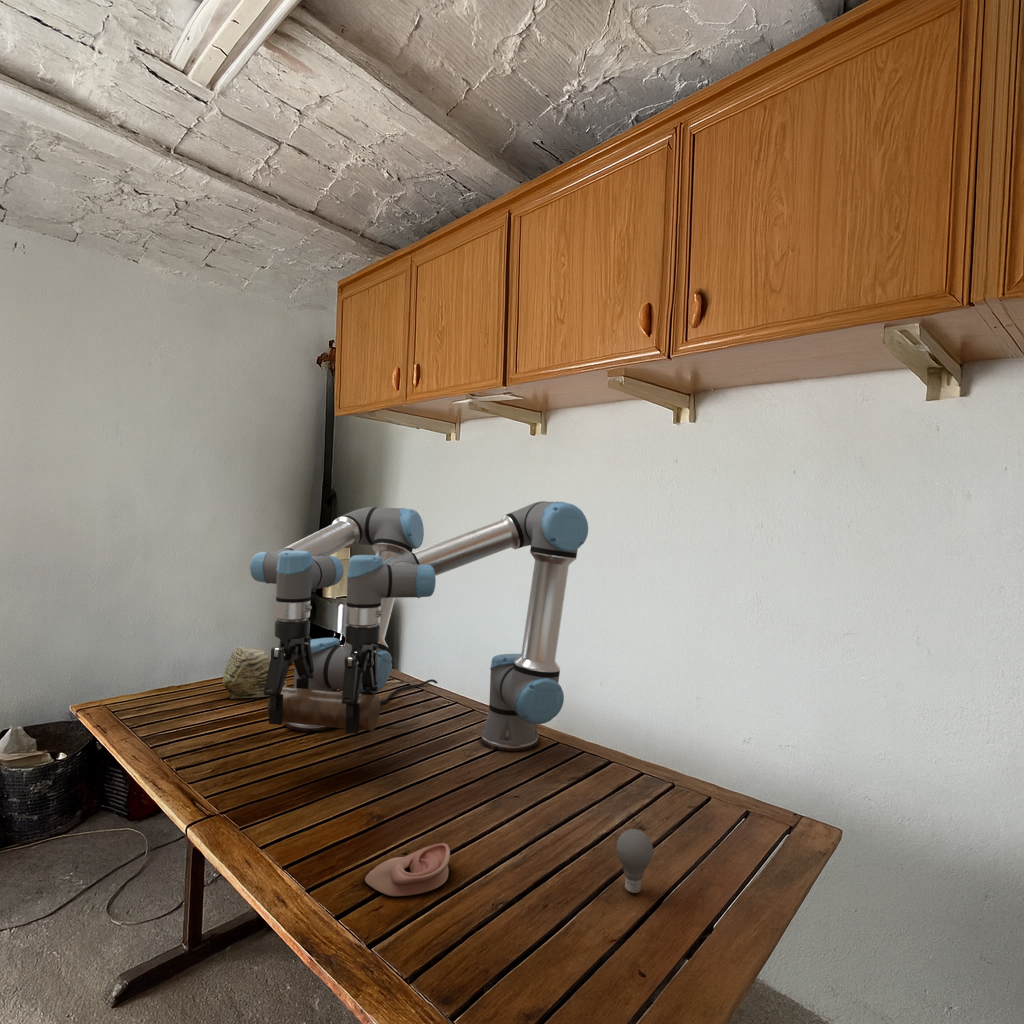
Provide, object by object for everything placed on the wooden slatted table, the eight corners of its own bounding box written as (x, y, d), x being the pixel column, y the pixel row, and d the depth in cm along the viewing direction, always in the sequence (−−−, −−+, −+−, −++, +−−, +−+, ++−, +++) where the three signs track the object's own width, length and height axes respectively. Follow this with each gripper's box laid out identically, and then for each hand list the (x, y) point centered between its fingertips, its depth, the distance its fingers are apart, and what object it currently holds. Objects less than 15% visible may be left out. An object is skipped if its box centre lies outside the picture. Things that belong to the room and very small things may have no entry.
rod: (266, 725, 141) (267, 691, 141) (283, 714, 148) (285, 682, 148) (367, 736, 137) (368, 701, 137) (379, 724, 145) (381, 691, 145)
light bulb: (610, 879, 108) (613, 822, 108) (644, 879, 109) (647, 822, 109) (619, 902, 102) (622, 840, 102) (655, 901, 103) (658, 840, 103)
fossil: (218, 695, 195) (220, 647, 195) (278, 685, 208) (279, 640, 207) (228, 703, 189) (230, 653, 188) (289, 692, 201) (290, 645, 201)
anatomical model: (357, 866, 102) (385, 830, 114) (356, 890, 102) (384, 852, 114) (435, 879, 100) (456, 841, 111) (434, 904, 100) (455, 864, 111)
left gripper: (281, 630, 131) (277, 735, 132) (330, 611, 155) (327, 700, 155) (248, 627, 133) (244, 731, 133) (302, 609, 156) (298, 697, 156)
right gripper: (361, 635, 130) (357, 745, 131) (394, 617, 151) (390, 712, 151) (327, 632, 132) (323, 741, 132) (364, 615, 152) (360, 710, 152)
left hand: (289, 714), depth 144 cm, fingers open, 11 cm apart
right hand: (359, 726), depth 142 cm, fingers closed on rod, 8 cm apart
